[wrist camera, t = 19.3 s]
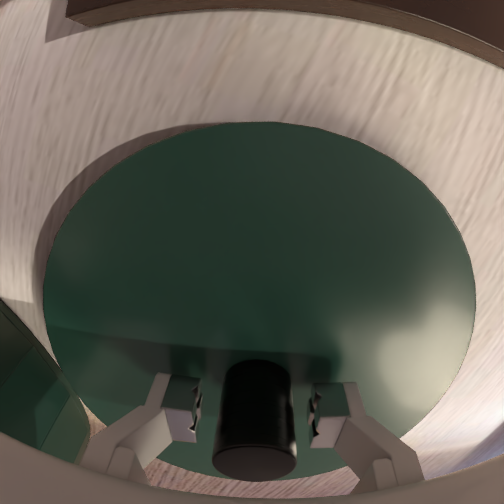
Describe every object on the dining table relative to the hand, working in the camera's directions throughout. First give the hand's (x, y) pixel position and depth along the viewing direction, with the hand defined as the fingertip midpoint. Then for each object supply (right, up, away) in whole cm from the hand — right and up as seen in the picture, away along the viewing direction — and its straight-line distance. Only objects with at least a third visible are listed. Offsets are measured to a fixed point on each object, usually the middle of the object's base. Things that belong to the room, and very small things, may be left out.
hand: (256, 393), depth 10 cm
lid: (0, 0, +1) cm, 1 cm away
